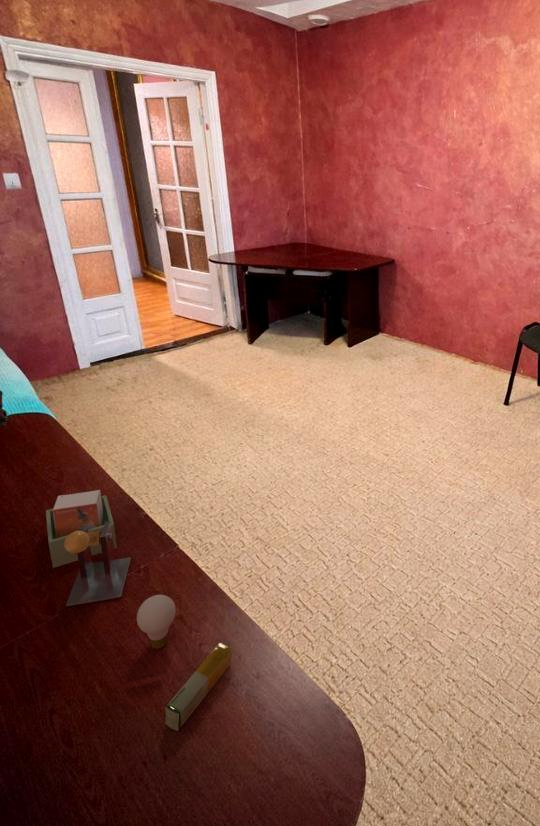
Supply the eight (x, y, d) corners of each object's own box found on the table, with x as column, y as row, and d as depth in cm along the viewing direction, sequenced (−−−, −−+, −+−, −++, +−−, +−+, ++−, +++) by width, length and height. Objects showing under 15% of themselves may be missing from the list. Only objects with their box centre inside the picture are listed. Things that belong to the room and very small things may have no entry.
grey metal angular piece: (121, 601, 92) (114, 545, 88) (66, 610, 89) (56, 554, 85) (131, 561, 102) (125, 510, 98) (82, 569, 99) (74, 516, 95)
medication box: (178, 733, 70) (178, 715, 69) (163, 725, 71) (163, 707, 70) (232, 663, 81) (232, 646, 80) (218, 656, 82) (219, 640, 80)
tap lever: (85, 552, 80) (86, 529, 81) (60, 555, 79) (61, 533, 80) (106, 546, 93) (107, 527, 94) (85, 549, 92) (86, 529, 93)
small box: (58, 552, 102) (51, 510, 98) (63, 535, 106) (57, 495, 103) (102, 544, 105) (96, 503, 102) (105, 528, 110) (100, 488, 106)
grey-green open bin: (50, 536, 107) (45, 510, 105) (109, 519, 114) (106, 495, 112) (53, 570, 98) (48, 542, 96) (117, 550, 105) (114, 524, 102)
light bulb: (154, 667, 80) (148, 620, 77) (133, 649, 83) (127, 603, 80) (185, 642, 85) (181, 597, 82) (164, 625, 87) (160, 581, 84)
